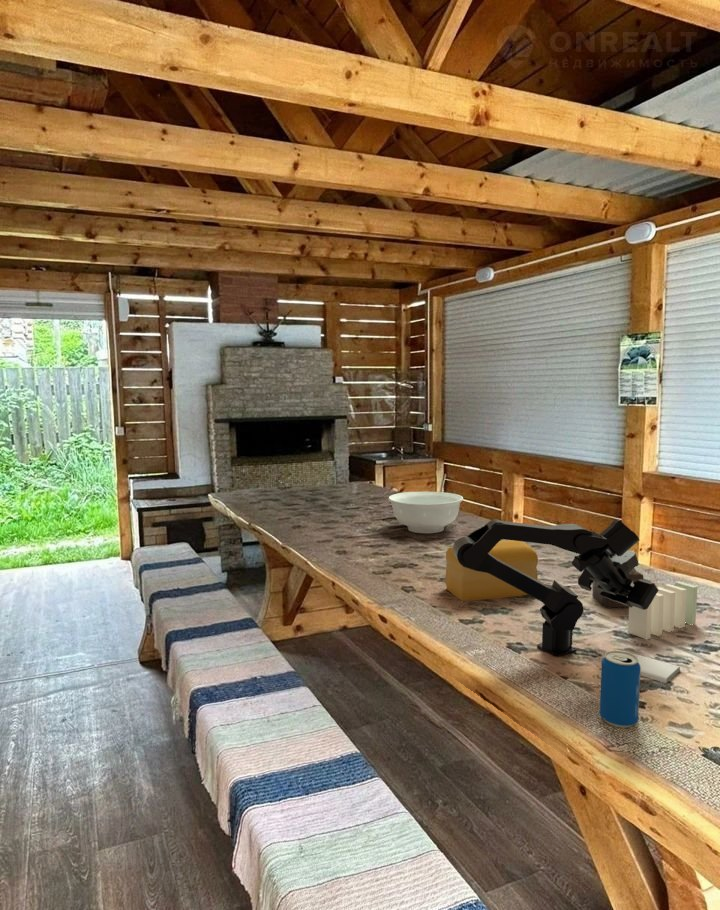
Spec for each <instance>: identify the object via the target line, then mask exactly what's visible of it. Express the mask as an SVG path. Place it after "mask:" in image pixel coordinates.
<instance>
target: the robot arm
mask: <svg viewBox="0 0 720 910" xmlns="http://www.w3.org/2000/svg"><path fill="white" fill-rule="evenodd" d="M503 540H504V541H505V540H514V541H522V542H524V543H532V544H533V543H534V544H541V545H542V544H543V545H550V546H552V547H557V548H560V549H562V550H564V551H567V552H571V553H574V554H578V555H575V556H574V558H573V559H572V562H571V565H572V566H573V567H574V568H575V569H577V571H579V572H580V573H581V574H580V575H579V577H578V578H577V584H578V586H579V588H581V589H582V590H585V591H588V592H591V591H592V590H593V586H592V585H593V581H595V582H598V584H599V585H598V587H597V588H598V589H599V590H601V591H602V592H601V596H603V597H606V598H608V599H611V600H613V601H616V602H618V603H621V604H623V605H626V606H628V607H631V608H632V607H633V606H634V607H637V608H640V609H643V610H645V609H648V607H649V605H650V604H651V602H652V600H653V599H654V597H655V595H656V594H657V592H658V591H659V590H658V588H657V587H658V586H656V583H654V582H651V581H648V580H645V579H643V580H642V579H640V580H637V581H636V582H633V580H631V579H629V577H630V576H631V575H630V574H629V572H630V571H631V570H632V569H633V568H635V569H636V567H638V566H639V565H640V564H639V560H638V557H637V553H636V552H635V551H633V550H630V549H631V548H632V547H634V546H635V545H636V544H637V543H638V542H639V541H640V538H639V536H638V535H637V534H636V533H635V532H634V531H633V530H632V529H630V527H628V526H627V525H626V524H624V523H623V522H622V520H620V519H618V518H615V519H614V520H613V521H612V522H611V523H610V524H609V526H607V527H606V528H605V529H604V530H603V531H601V532H600V533H598V532H596V531H592V530H589V529H586V528H584V527H583V526H581V525H580V524H576V523H559V524H557V525H556V524H555V525H541V524H539V525H538V524H531V523H525V522H524V523H522V522H516V521H515V522H514V521H505V520H499V519H497V518H496V519H495V518H493V519H491V520H489V521H488V522H487V523H485V524H484V525H483V526H481V527H480V528H477V529H475V530H473V531H472V532H470V533H469V534H468V535H465V536H463V537H459V538H458V539H456V540H455V542H454V543H453V545H454V546H453V545H452V546H453V552H454V555H455V557H456V558H457V560H458V561H459V563H460V564H461V565H462V566H463V567H466V568H469V569H472V570H475V571H478V572H484V573H488V574H491V575H493V576H495V577H496V578H498V579H500V580H502V581H504V582H506V583H508V584H509V585H511V586H513V587H515V588H517V589H519V590H521V591H523V592H524V593H526V594H528V595H527V596H530V597H532V598H534V599H536V600H537V601H539V602H541V603H542V604H543V605H542V606H541V607H540V608H539V612H540V615H541V617H542V618H543V619H544V620H545V621H544V622H543V623H542V629H541V630H542V637H541V638H542V639H541V643H537V644H536V647H537V648H539V649H541V650H543V651H544V652H547V653H549V654H551V655H554V656H555V657H560V656H561V657H562V656H563V655H567V654H571V653H574V652H576V651H577V648H576V647H574V646H572V645H573V632H574V629H575V628H576V625H577V623H578V620H579V619H580V618H581V617H582V616H583V613H584V605H583V603H582V601H581V600H579V598H578V597H579V595H577V593H575V592H574V591H573V590H572V589H571V588H570V587H569V586H565V585H562V584H561V583H559V582H557V580H555V579H554V580H553V582H552V584H548V583H544V582H542V581H540V580H538V578H537V579H535V578H533V577H531V576H529V575H527V574H525V573H524V572H522V571H520V570H518V569H516V568H514V567H512V566H511V565H509V564H507V563H505V562H503V561H501V560H499V559H498V558H496V557H494V556H493V555H491V554H490V553H489V552H490V551H491V550H492V549H493V548H494V546H495V545H496V544H497V543H498V542H499V541H503Z"/></svg>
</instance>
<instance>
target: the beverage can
mask: <svg viewBox="0 0 720 910" xmlns="http://www.w3.org/2000/svg"><path fill="white" fill-rule="evenodd" d="M622 651H623V650H622ZM622 651H621V650H609V651H606V652H605V653H604V657H603V658H602V659H601V666H600V667H601V670H600V694H599V695H600V699H599V715H600V717H601V719H603V720H604V721H605V722H606V723H607V724H608V725H610V726H613V727H616V728H621V729H626V728H631V727H633V726H634V725H636V724H638V723H639V709H640V689H641V675H640V664H639V663H638V658H637V657H636V656H634V655H632V654H630V653H631V652H629V653H627V652H628V651H626V652H622Z"/></svg>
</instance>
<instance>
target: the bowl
mask: <svg viewBox="0 0 720 910" xmlns="http://www.w3.org/2000/svg"><path fill="white" fill-rule="evenodd" d="M388 501H389V502H390V504H391V506H392V511H393V515H394V517H395V518H396V519H397V521H398V522H399V523H401V524H402V525H404V526H407V529H408V531H409V532H412V533H417V534H437V533H441V532H443V531H444V529H445V526H449V524H451V523H453V522H454V520H455V519H456V518H457V517H458V514H459V511H460V505H461V503H462V502H463V501H464V496H462V495H460V494H457V493H452V492H442V491H407V492H399V493H395V494H394V493H393V494H391V495H389V497H388Z"/></svg>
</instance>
